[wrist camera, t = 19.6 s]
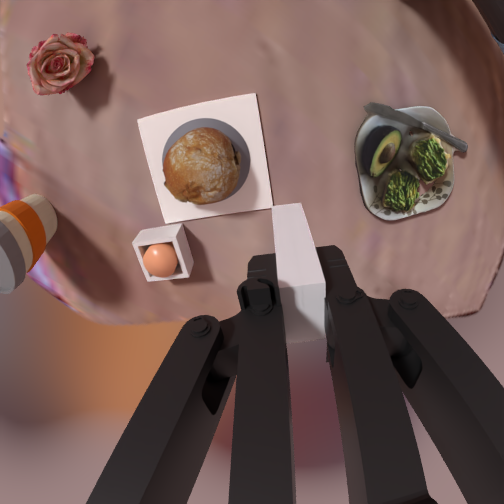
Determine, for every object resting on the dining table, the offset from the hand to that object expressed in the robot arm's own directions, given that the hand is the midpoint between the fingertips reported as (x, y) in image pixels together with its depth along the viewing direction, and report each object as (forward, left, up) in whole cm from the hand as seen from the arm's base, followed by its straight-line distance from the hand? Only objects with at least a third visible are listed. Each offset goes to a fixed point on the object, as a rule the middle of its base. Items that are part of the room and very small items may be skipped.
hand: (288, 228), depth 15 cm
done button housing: (+13, -18, -24) cm, 33 cm away
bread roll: (+1, -9, -24) cm, 26 cm away
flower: (-19, -25, -25) cm, 40 cm away
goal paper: (+1, -9, -24) cm, 26 cm away
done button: (+13, -18, -23) cm, 32 cm away
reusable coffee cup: (+3, -42, -25) cm, 49 cm away
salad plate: (+4, +19, -25) cm, 32 cm away
